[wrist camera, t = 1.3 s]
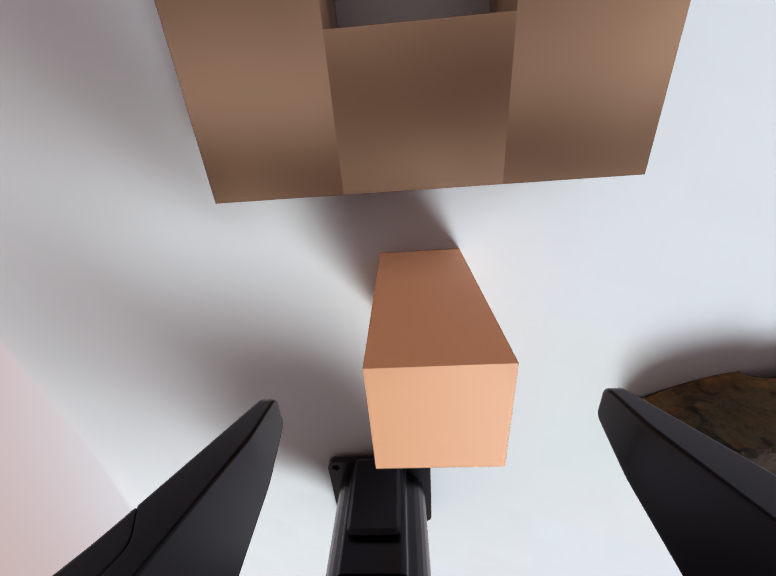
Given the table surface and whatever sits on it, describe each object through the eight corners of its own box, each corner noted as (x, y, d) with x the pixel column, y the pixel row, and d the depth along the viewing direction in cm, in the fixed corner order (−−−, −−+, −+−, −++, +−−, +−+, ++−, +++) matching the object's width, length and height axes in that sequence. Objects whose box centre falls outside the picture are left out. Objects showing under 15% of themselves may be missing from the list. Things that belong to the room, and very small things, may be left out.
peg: (457, 316, 16) (504, 466, 9) (385, 320, 16) (376, 468, 9) (459, 248, 15) (518, 363, 7) (380, 253, 15) (362, 369, 8)
